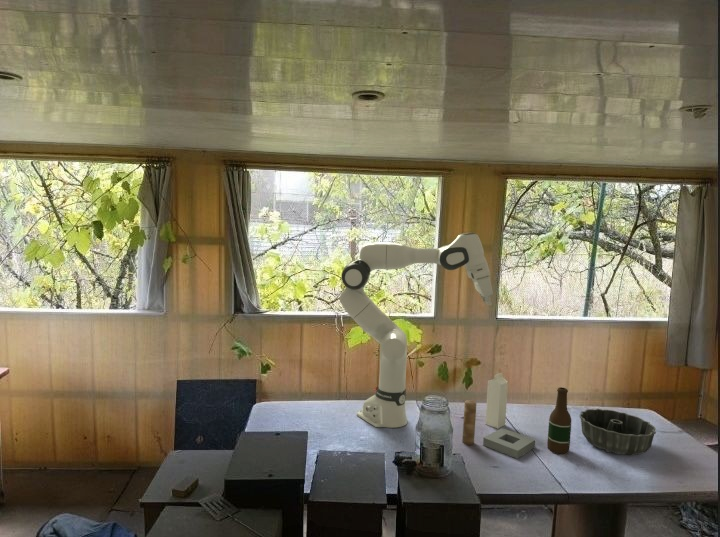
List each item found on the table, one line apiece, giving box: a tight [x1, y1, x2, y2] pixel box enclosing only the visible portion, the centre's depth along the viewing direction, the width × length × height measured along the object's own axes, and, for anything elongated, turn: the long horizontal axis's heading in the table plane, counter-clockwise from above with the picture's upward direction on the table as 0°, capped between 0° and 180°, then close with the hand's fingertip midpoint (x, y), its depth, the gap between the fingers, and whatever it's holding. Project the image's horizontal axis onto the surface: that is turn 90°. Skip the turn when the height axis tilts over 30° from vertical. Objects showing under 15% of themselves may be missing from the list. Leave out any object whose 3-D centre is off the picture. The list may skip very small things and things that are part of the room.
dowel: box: [461, 399, 477, 446], centre depth 183 cm, size 4×4×16 cm
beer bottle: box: [546, 386, 572, 455], centre depth 179 cm, size 8×8×24 cm
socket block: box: [482, 427, 536, 459], centre depth 182 cm, size 14×14×3 cm
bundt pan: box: [579, 408, 657, 457], centre depth 186 cm, size 26×26×10 cm
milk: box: [485, 372, 509, 430], centre depth 201 cm, size 6×6×22 cm
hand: (487, 303), depth 193 cm, fingers open, 8 cm apart
